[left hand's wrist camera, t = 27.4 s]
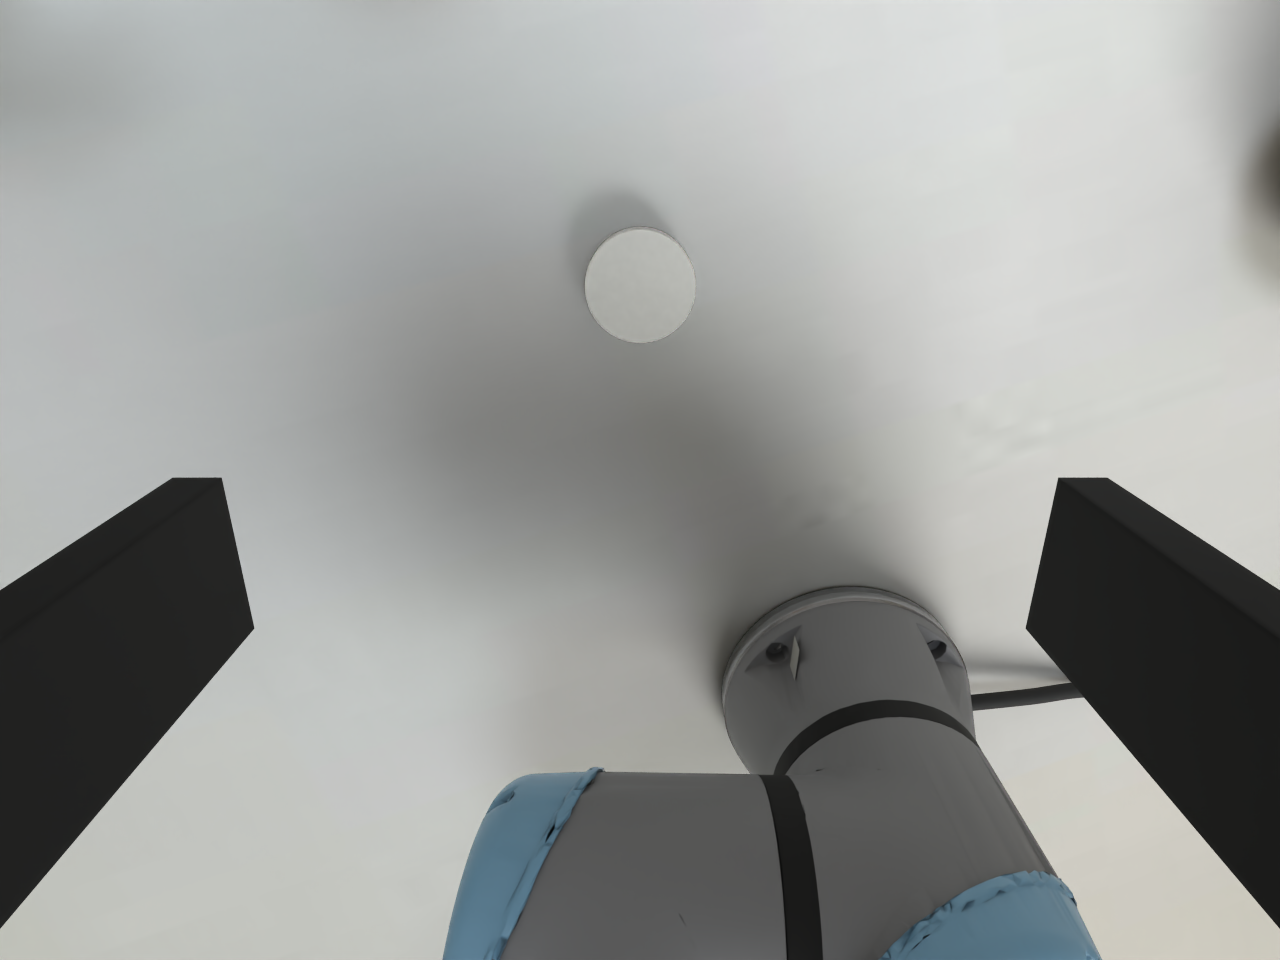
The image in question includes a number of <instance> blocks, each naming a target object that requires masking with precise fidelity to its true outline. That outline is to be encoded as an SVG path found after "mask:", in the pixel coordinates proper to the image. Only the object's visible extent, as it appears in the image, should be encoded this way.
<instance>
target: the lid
mask: <svg viewBox="0 0 1280 960" xmlns="http://www.w3.org/2000/svg"><path fill="white" fill-rule="evenodd" d="M695 295H696V278H695V273H694V269H693V266H692V264H691V261H690V259H689V258H688V256H687V254H686V252H685V251H684V249H683V248H682V247H681V245H680V244H679V243H678V242H677V241H676V240H675V239H673V238H672V237H671V236H669V235H668V234H666V233H664V232H662V231H660V230H657V229H654V228H650V227H631V228H627V229H624V230H621V231H619V232H616V233H614V234H613V235H611V236H610V237H608V238H607V239H606V240H605V241H604V242H603V243H602V244H601V245H600V246H599V247H598V249H597V250H596V252H595V253H594V255H593V257H592V259H591V261H590V263H589V265H588V268H587V271H586V276H585V296H586V301H587V304H588V307H589V310H590V312H591V314H592V316H593V317H594V319H595V320H596V321H597V323H598V324H599V325H600V326H601V327H602V328H603V329H604V330H605V331H606V332H608V333H609V334H611V335H612V336H614V337H616V338H618V339H621V340H623V341H627V342H631V343H649V342H654V341H657V340H660V339H663V338H665V337H667V336H668V335H670V334H672V333H673V332H674V331H675V330H677V329H678V328H679V327H680V326H681V325H682V324H683V322H684V321H685V320H686V318H687V317H688V315H689V313H690V311H691V309H692V306H693V304H694V300H695Z"/></svg>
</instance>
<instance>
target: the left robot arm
mask: <svg viewBox="0 0 1280 960" xmlns="http://www.w3.org/2000/svg"><path fill="white" fill-rule="evenodd" d="M253 629H254V625H253V620H252V615H251V611H250V606H249V602H248V597H247V592H246V588H245V583H244V579H243V574H242V569H241V565H240V560H239V556H238V551H237V546H236V542H235V537H234V533H233V528H232V523H231V519H230V514H229V510H228V505H227V500H226V496H225V491H224V487H223V482H222V478H172V479H170V480H169V481H167V482H165V483H164V484H162V485H161V486H159V487H158V488H156V489H155V490H153V491H152V492H150V493H149V494H147V495H146V496H144V497H142V498H141V499H139V500H138V501H136V502H135V503H133V504H132V505H130V506H129V507H127V508H126V509H124V510H123V511H121V512H119V513H118V514H116V515H115V516H113V517H112V518H110V519H109V520H107V521H106V522H104V523H103V524H101V525H100V526H98V527H97V528H95V529H93V530H92V531H90V532H89V533H87V534H86V535H84V536H83V537H81V538H80V539H78V540H77V541H75V542H74V543H72V544H70V545H69V546H67V547H66V548H64V549H63V550H61V551H60V552H58V553H57V554H55V555H54V556H52V557H51V558H49V559H47V560H46V561H44V562H43V563H41V564H40V565H38V566H37V567H35V568H34V569H32V570H31V571H29V572H28V573H26V574H25V575H23V576H21V577H20V578H18V579H17V580H15V581H14V582H12V583H11V584H9V585H8V586H6V587H5V588H3V589H2V590H0V928H1V927H2V926H3V925H4V923H5V922H6V921H7V920H8V919H9V918H10V916H11V915H12V914H13V913H14V912H15V911H16V909H17V908H18V907H19V906H20V905H21V903H22V902H23V901H24V900H25V899H26V898H27V896H28V895H29V894H30V893H31V892H32V890H33V889H34V888H35V887H36V886H37V885H38V883H39V882H40V881H41V880H42V879H43V877H44V876H45V875H46V874H47V873H48V872H49V870H50V869H51V868H52V867H53V866H54V864H55V863H56V862H57V861H58V860H59V859H60V857H61V856H62V855H63V854H64V853H65V851H66V850H67V849H68V848H69V847H70V846H71V844H72V843H73V842H74V841H75V840H76V838H77V837H78V836H79V835H80V834H81V833H82V831H83V830H84V829H85V828H86V827H87V825H88V824H89V823H90V822H91V821H92V820H93V818H94V817H95V816H96V815H97V814H98V812H99V811H100V810H101V809H102V808H103V807H104V805H105V804H106V803H107V802H108V801H109V799H110V798H111V797H112V796H113V795H114V794H115V792H116V791H117V790H118V789H119V788H120V786H121V785H122V784H123V783H124V782H125V781H126V779H127V778H128V777H129V776H130V775H131V773H132V772H133V771H134V770H135V769H136V768H137V766H138V765H139V764H140V763H141V762H142V760H143V759H144V758H145V757H146V756H147V755H148V753H149V752H150V751H151V750H152V749H153V747H154V746H155V745H156V744H157V743H158V742H159V740H160V739H161V738H162V737H163V736H164V734H165V733H166V732H167V731H168V730H169V729H170V727H171V726H172V725H173V724H174V723H175V721H176V720H177V719H178V718H179V717H180V716H181V714H182V713H183V712H184V711H185V710H186V708H187V707H188V706H189V705H190V704H191V703H192V701H193V700H194V699H195V698H196V697H197V695H198V694H199V693H200V692H201V691H202V690H203V688H204V687H205V686H206V685H207V684H208V682H209V681H210V680H211V679H212V678H213V677H214V675H215V674H216V673H217V672H218V671H219V670H220V668H221V667H222V666H223V665H224V664H225V662H226V661H227V660H228V659H229V658H230V657H231V655H232V654H233V653H234V652H235V651H236V649H237V648H238V647H239V646H240V645H241V644H242V642H243V641H244V640H245V639H246V638H247V636H248V635H249V634H250V633H251V632H252V631H253ZM1026 629H1027V631H1028V632H1029V633H1030V634H1031V635H1032V636H1033V638H1034V639H1035V640H1036V641H1037V642H1038V644H1039V645H1040V646H1041V647H1042V648H1043V649H1044V651H1045V652H1046V653H1047V654H1048V655H1049V657H1050V658H1051V659H1052V660H1053V661H1054V662H1055V664H1056V665H1057V666H1058V667H1059V668H1060V670H1061V671H1062V672H1063V673H1064V674H1065V675H1066V677H1067V678H1068V679H1069V680H1070V681H1071V682H1072V683H1065V684H1058V685H1051V686H1045V687H1039V688H1032V689H1024V690H1014V691H1005V692H995V693H985V694H975V695H971V693H970V686H969V680H968V676H967V672H966V668H965V664H964V662H963V659H962V657H961V655H960V653H959V651H958V649H957V648H956V646H955V645H954V643H953V642H952V640H951V639H950V637H949V636H948V634H947V633H946V631H945V630H944V628H943V627H942V626H941V624H940V623H939V622H938V621H937V620H936V619H935V618H934V617H933V616H932V615H931V614H930V613H928V612H927V611H926V610H925V609H923V608H922V607H920V606H919V605H917V604H916V603H914V602H912V601H910V600H908V599H907V598H904V597H902V596H899V595H897V594H894V593H891V592H887V591H883V590H879V589H874V588H865V587H838V588H830V589H824V590H820V591H815V592H811V593H808V594H805V595H802V596H799V597H797V598H795V599H792V600H790V601H788V602H786V603H784V604H782V605H780V606H778V607H777V608H775V609H774V610H772V611H771V612H769V613H768V614H766V615H765V616H764V617H762V618H761V619H760V620H759V621H758V622H757V623H755V624H754V625H753V626H752V627H751V628H750V629H749V630H748V632H747V633H746V634H745V635H744V636H743V637H742V639H741V640H740V642H739V643H738V644H737V646H736V648H735V649H734V651H733V653H732V655H731V657H730V659H729V661H728V664H727V667H726V670H725V673H724V678H723V683H722V704H723V711H724V717H725V723H726V729H727V732H728V736H729V738H730V740H731V743H732V745H733V747H734V749H735V751H736V752H737V754H738V756H739V758H740V759H741V761H742V762H743V764H744V765H745V767H746V768H747V770H748V771H749V772H750V774H701V773H641V772H605V771H604V768H600V767H593V768H590V769H589V770H587V771H586V772H572V773H544V774H530V775H526V776H522V777H520V778H518V779H516V780H514V781H513V782H511V783H510V784H509V785H507V786H506V787H505V788H504V789H503V790H502V791H501V792H500V793H499V794H498V795H497V797H496V798H495V799H494V801H493V802H492V804H491V806H490V807H489V809H488V811H487V813H486V815H485V817H484V819H483V821H482V823H481V825H480V828H479V830H478V832H477V835H476V837H475V840H474V842H473V845H472V848H471V851H470V853H469V857H468V860H467V863H466V866H465V869H464V872H463V876H462V879H461V882H460V886H459V889H458V893H457V897H456V901H455V905H454V909H453V913H452V917H451V921H450V926H449V930H448V935H447V940H446V944H445V949H444V954H443V960H1102V959H1101V957H1100V955H1099V953H1098V951H1097V948H1096V946H1095V944H1094V942H1093V940H1092V938H1091V936H1090V934H1089V932H1088V930H1087V928H1086V926H1085V924H1084V922H1083V920H1082V918H1081V916H1080V914H1079V912H1078V909H1077V907H1076V906H1077V903H1076V901H1075V899H1074V897H1073V894H1072V892H1071V891H1070V890H1069V888H1068V887H1067V886H1066V885H1065V884H1064V883H1063V882H1062V880H1061V879H1060V878H1058V876H1057V875H1056V873H1055V871H1054V870H1053V868H1052V866H1051V865H1050V863H1049V861H1048V860H1047V858H1046V856H1045V855H1044V853H1043V851H1042V850H1041V848H1040V846H1039V845H1038V843H1037V841H1036V840H1035V838H1034V836H1033V835H1032V833H1031V831H1030V830H1029V828H1028V826H1027V825H1026V823H1025V821H1024V820H1023V818H1022V816H1021V815H1020V813H1019V811H1018V810H1017V808H1016V806H1015V805H1014V803H1013V801H1012V800H1011V798H1010V797H1009V795H1008V793H1007V792H1006V790H1005V788H1004V787H1003V785H1002V783H1001V782H1000V780H999V778H998V777H997V775H996V773H995V772H994V770H993V768H992V767H991V765H990V763H989V762H988V760H987V758H986V757H985V756H984V754H983V752H982V751H981V749H980V747H979V745H978V744H977V742H976V737H975V728H974V719H973V711H975V710H985V709H995V708H1004V707H1014V706H1023V705H1032V704H1040V703H1046V702H1053V701H1059V700H1065V699H1072V698H1082V697H1084V698H1085V699H1086V700H1087V701H1088V703H1089V704H1090V705H1091V706H1092V707H1093V708H1094V710H1095V711H1096V712H1097V713H1098V714H1099V716H1100V717H1101V718H1102V719H1103V720H1104V721H1105V723H1106V724H1107V725H1108V726H1109V727H1110V729H1111V730H1112V731H1113V732H1114V733H1115V734H1116V736H1117V737H1118V738H1119V739H1120V740H1121V742H1122V743H1123V744H1124V745H1125V746H1126V747H1127V749H1128V750H1129V751H1130V752H1131V753H1132V755H1133V756H1134V757H1135V758H1136V759H1137V760H1138V762H1139V763H1140V764H1141V765H1142V766H1143V768H1144V769H1145V770H1146V771H1147V772H1148V773H1149V775H1150V776H1151V777H1152V778H1153V779H1154V781H1155V782H1156V783H1157V784H1158V785H1159V786H1160V788H1161V789H1162V790H1163V791H1164V792H1165V794H1166V795H1167V796H1168V797H1169V798H1170V799H1171V801H1172V802H1173V803H1174V804H1175V805H1176V807H1177V808H1178V809H1179V810H1180V811H1181V812H1182V814H1183V815H1184V816H1185V817H1186V818H1187V820H1188V821H1189V822H1190V823H1191V824H1192V825H1193V827H1194V828H1195V829H1196V830H1197V831H1198V833H1199V834H1200V835H1201V836H1202V837H1203V838H1204V840H1205V841H1206V842H1207V843H1208V844H1209V846H1210V847H1211V848H1212V849H1213V850H1214V851H1215V853H1216V854H1217V855H1218V856H1219V857H1220V859H1221V860H1222V861H1223V862H1224V863H1225V864H1226V866H1227V867H1228V868H1229V869H1230V870H1231V872H1232V873H1233V874H1234V875H1235V876H1236V877H1237V879H1238V880H1239V881H1240V882H1241V883H1242V885H1243V886H1244V887H1245V888H1246V889H1247V890H1248V892H1249V893H1250V894H1251V895H1252V896H1253V898H1254V899H1255V900H1256V901H1257V902H1258V903H1259V905H1260V906H1261V907H1262V908H1263V909H1264V911H1265V912H1266V913H1267V914H1268V915H1269V916H1270V918H1271V919H1272V920H1273V921H1274V922H1275V923H1276V925H1277V926H1278V927H1279V928H1280V590H1278V589H1277V588H1275V587H1274V586H1272V585H1271V584H1269V583H1268V582H1266V581H1265V580H1263V579H1262V578H1260V577H1259V576H1257V575H1255V574H1254V573H1252V572H1251V571H1249V570H1248V569H1246V568H1245V567H1243V566H1242V565H1240V564H1239V563H1237V562H1236V561H1234V560H1233V559H1231V558H1229V557H1228V556H1226V555H1225V554H1223V553H1222V552H1220V551H1219V550H1217V549H1216V548H1214V547H1213V546H1211V545H1210V544H1208V543H1206V542H1205V541H1203V540H1202V539H1200V538H1199V537H1197V536H1196V535H1194V534H1193V533H1191V532H1190V531H1188V530H1187V529H1185V528H1183V527H1182V526H1180V525H1179V524H1177V523H1176V522H1174V521H1173V520H1171V519H1170V518H1168V517H1167V516H1165V515H1164V514H1162V513H1161V512H1159V511H1157V510H1156V509H1154V508H1153V507H1151V506H1150V505H1148V504H1147V503H1145V502H1144V501H1142V500H1141V499H1139V498H1138V497H1136V496H1134V495H1133V494H1131V493H1130V492H1128V491H1127V490H1125V489H1124V488H1122V487H1121V486H1119V485H1118V484H1116V483H1115V482H1113V481H1111V480H1110V479H1108V478H1058V482H1057V487H1056V491H1055V496H1054V500H1053V505H1052V510H1051V514H1050V519H1049V523H1048V528H1047V533H1046V537H1045V542H1044V546H1043V551H1042V556H1041V560H1040V565H1039V569H1038V574H1037V579H1036V583H1035V588H1034V592H1033V597H1032V602H1031V606H1030V611H1029V615H1028V620H1027V625H1026Z"/></svg>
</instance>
